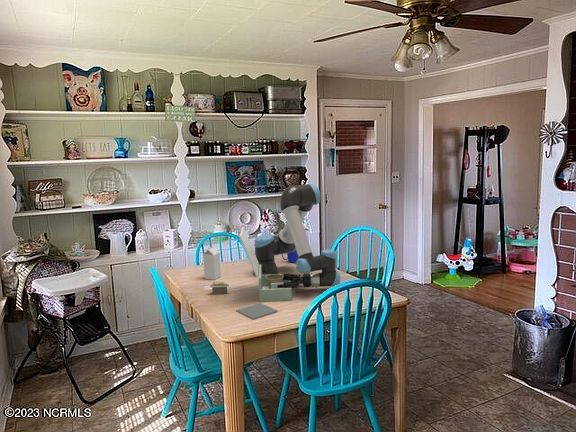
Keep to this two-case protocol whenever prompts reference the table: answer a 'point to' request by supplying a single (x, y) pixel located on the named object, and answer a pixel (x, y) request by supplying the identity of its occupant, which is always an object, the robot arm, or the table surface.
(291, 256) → the mug
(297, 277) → the robot arm
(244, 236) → the frame lid
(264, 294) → the cold frame
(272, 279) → the flower pot
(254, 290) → the table surface
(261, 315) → the mat
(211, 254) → the milk carton
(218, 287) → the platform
